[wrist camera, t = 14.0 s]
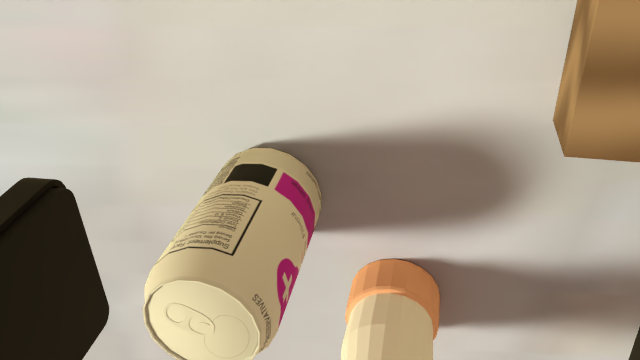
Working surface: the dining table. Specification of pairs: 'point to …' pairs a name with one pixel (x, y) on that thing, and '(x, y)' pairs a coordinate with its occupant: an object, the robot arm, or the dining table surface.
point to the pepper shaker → (391, 313)
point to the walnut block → (601, 83)
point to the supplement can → (234, 260)
